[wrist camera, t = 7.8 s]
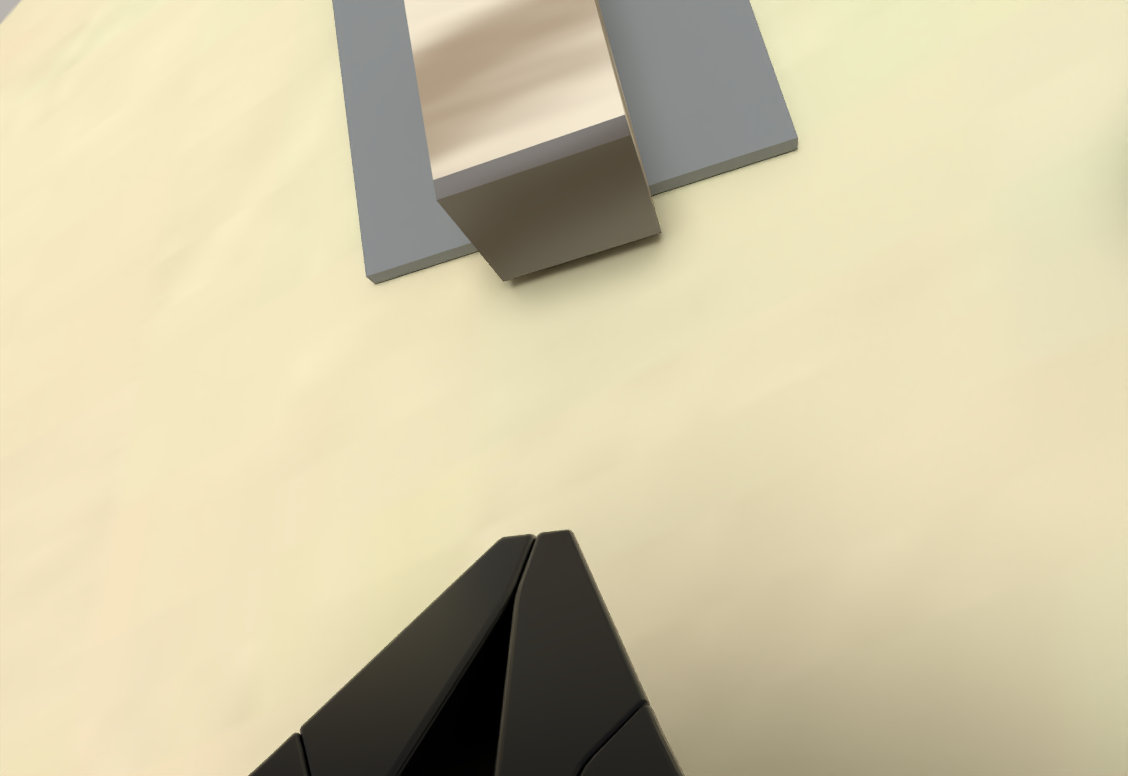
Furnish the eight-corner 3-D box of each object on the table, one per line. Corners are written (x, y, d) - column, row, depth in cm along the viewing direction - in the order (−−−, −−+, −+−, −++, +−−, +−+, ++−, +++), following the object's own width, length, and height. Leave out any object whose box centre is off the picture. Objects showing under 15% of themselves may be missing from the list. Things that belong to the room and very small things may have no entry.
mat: (797, 149, 23) (797, 137, 23) (375, 283, 26) (366, 276, 25) (683, -174, 28) (681, -190, 27) (335, -31, 30) (326, -43, 30)
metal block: (630, 134, 18) (551, -159, 22) (436, 200, 19) (389, -91, 23) (661, 232, 23) (592, -22, 26) (503, 281, 24) (456, 30, 27)
